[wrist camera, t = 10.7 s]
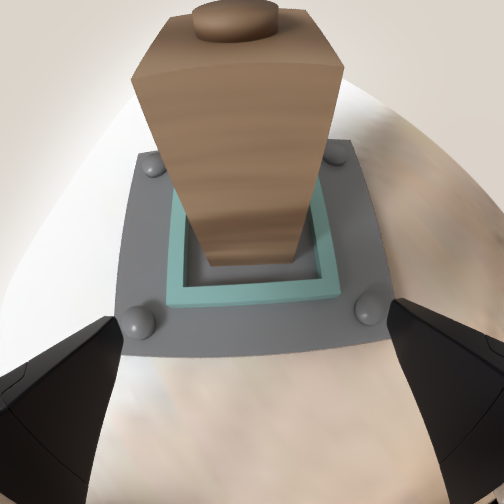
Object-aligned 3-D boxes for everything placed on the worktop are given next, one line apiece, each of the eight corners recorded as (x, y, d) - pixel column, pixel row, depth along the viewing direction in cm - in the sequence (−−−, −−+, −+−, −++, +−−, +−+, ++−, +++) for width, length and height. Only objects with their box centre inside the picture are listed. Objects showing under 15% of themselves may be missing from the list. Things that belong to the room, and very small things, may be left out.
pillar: (291, 263, 17) (350, 39, 4) (210, 266, 17) (121, 53, 4) (284, 195, 19) (306, -8, 6) (212, 198, 19) (166, 0, 6)
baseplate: (123, 355, 16) (105, 352, 14) (143, 164, 23) (134, 145, 20) (390, 338, 16) (407, 334, 14) (346, 151, 23) (353, 131, 20)
